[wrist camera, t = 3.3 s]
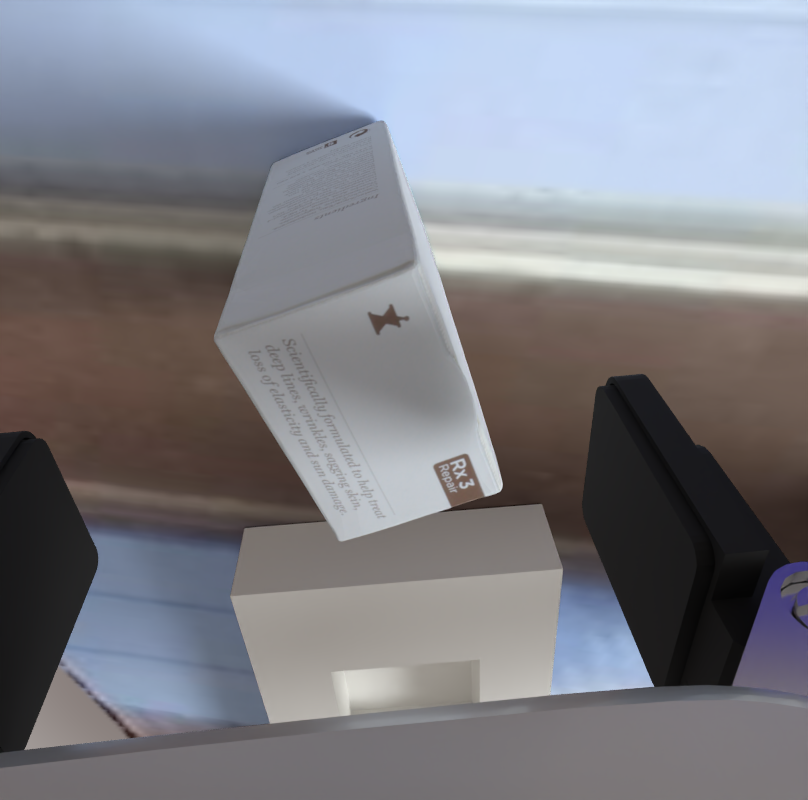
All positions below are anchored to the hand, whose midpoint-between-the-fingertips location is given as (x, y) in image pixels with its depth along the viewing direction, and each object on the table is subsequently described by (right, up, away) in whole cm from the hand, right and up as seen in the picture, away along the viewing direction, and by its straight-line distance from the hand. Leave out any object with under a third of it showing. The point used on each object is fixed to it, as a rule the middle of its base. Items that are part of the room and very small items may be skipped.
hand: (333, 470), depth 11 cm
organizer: (+1, -13, +25) cm, 28 cm away
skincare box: (0, +8, +12) cm, 14 cm away
